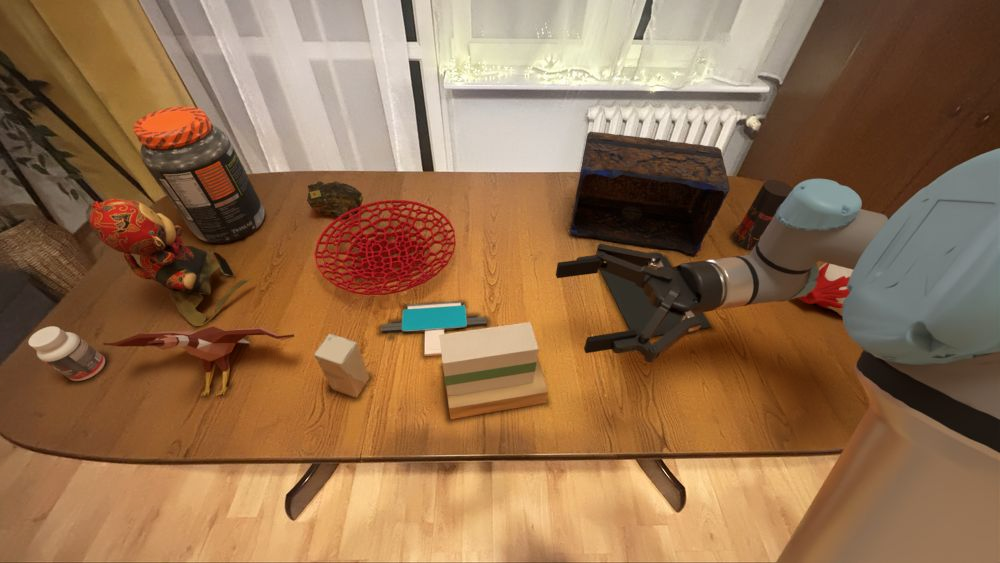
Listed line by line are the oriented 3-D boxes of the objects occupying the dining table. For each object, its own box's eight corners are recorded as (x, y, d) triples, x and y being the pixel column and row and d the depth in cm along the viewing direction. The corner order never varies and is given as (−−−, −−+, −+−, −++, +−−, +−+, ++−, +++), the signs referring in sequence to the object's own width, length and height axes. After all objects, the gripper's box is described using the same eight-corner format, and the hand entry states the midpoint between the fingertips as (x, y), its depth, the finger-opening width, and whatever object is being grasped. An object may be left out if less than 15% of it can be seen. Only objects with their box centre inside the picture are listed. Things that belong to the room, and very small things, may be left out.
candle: (878, 314, 84) (811, 333, 82) (835, 274, 91) (773, 291, 90) (907, 285, 77) (835, 306, 76) (858, 245, 84) (791, 263, 83)
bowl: (324, 325, 80) (316, 308, 76) (319, 229, 98) (312, 212, 95) (472, 291, 86) (471, 274, 82) (441, 207, 105) (439, 191, 101)
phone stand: (378, 360, 75) (377, 355, 73) (384, 308, 83) (382, 303, 81) (489, 351, 76) (489, 346, 75) (484, 301, 84) (484, 296, 83)
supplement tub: (225, 199, 105) (168, 97, 86) (280, 210, 103) (233, 107, 84) (178, 239, 95) (100, 133, 76) (237, 252, 92) (173, 146, 73)
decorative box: (701, 261, 95) (689, 201, 107) (742, 194, 79) (722, 132, 91) (568, 249, 98) (570, 192, 110) (580, 182, 82) (581, 123, 93)
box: (331, 389, 71) (310, 353, 62) (345, 368, 73) (327, 331, 65) (358, 398, 70) (341, 364, 61) (371, 377, 72) (357, 341, 64)
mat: (710, 327, 81) (711, 326, 81) (634, 339, 79) (634, 338, 79) (664, 257, 94) (665, 256, 94) (597, 265, 92) (598, 264, 92)
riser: (545, 403, 70) (548, 391, 67) (450, 419, 67) (448, 408, 64) (531, 353, 76) (533, 340, 73) (444, 366, 74) (442, 354, 71)
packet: (526, 356, 71) (530, 321, 64) (533, 382, 68) (539, 349, 60) (444, 369, 69) (438, 334, 62) (447, 397, 66) (442, 363, 58)
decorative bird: (85, 432, 61) (37, 347, 55) (166, 359, 78) (136, 287, 71) (283, 421, 63) (259, 337, 57) (321, 352, 80) (306, 281, 73)
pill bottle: (61, 382, 70) (13, 350, 63) (82, 355, 74) (38, 322, 67) (94, 381, 71) (50, 349, 63) (113, 354, 74) (73, 321, 67)
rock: (357, 169, 101) (351, 182, 95) (371, 202, 106) (367, 217, 100) (308, 181, 101) (299, 195, 95) (325, 214, 107) (317, 229, 100)
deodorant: (740, 229, 102) (771, 176, 91) (764, 242, 99) (799, 189, 88) (728, 239, 99) (758, 186, 88) (751, 253, 96) (786, 200, 85)
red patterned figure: (233, 323, 77) (108, 226, 59) (158, 333, 81) (18, 244, 62) (263, 263, 87) (165, 164, 68) (196, 274, 90) (84, 182, 72)
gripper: (745, 372, 56) (595, 398, 53) (662, 247, 72) (545, 261, 69) (773, 340, 50) (608, 368, 47) (677, 212, 67) (550, 227, 64)
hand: (570, 305), depth 58 cm, fingers open, 13 cm apart
